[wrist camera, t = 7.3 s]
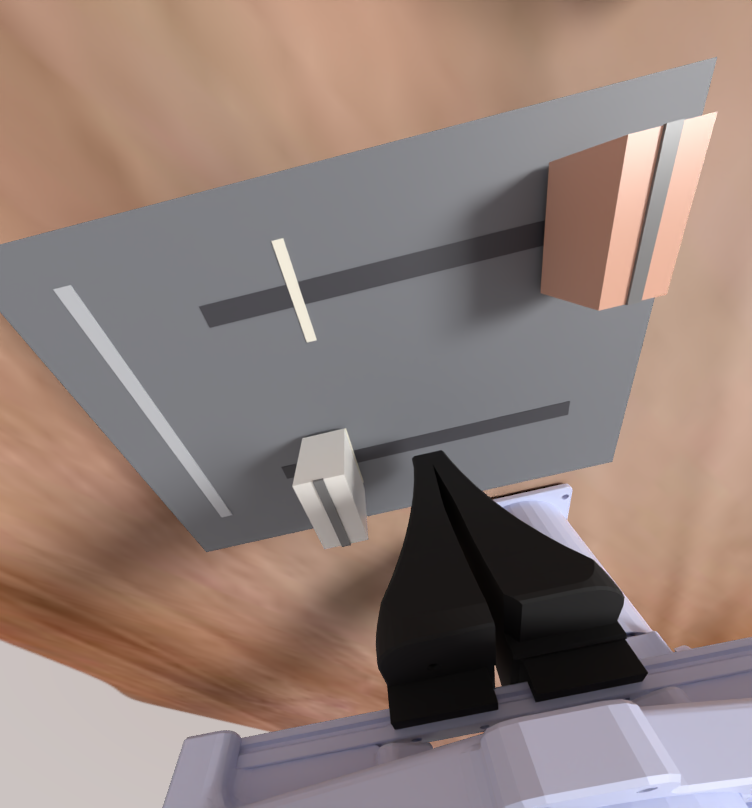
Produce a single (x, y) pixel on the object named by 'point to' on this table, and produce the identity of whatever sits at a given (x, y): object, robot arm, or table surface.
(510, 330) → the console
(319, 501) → the fader white
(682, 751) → the robot arm
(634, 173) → the fader terracotta
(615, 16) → the table surface
